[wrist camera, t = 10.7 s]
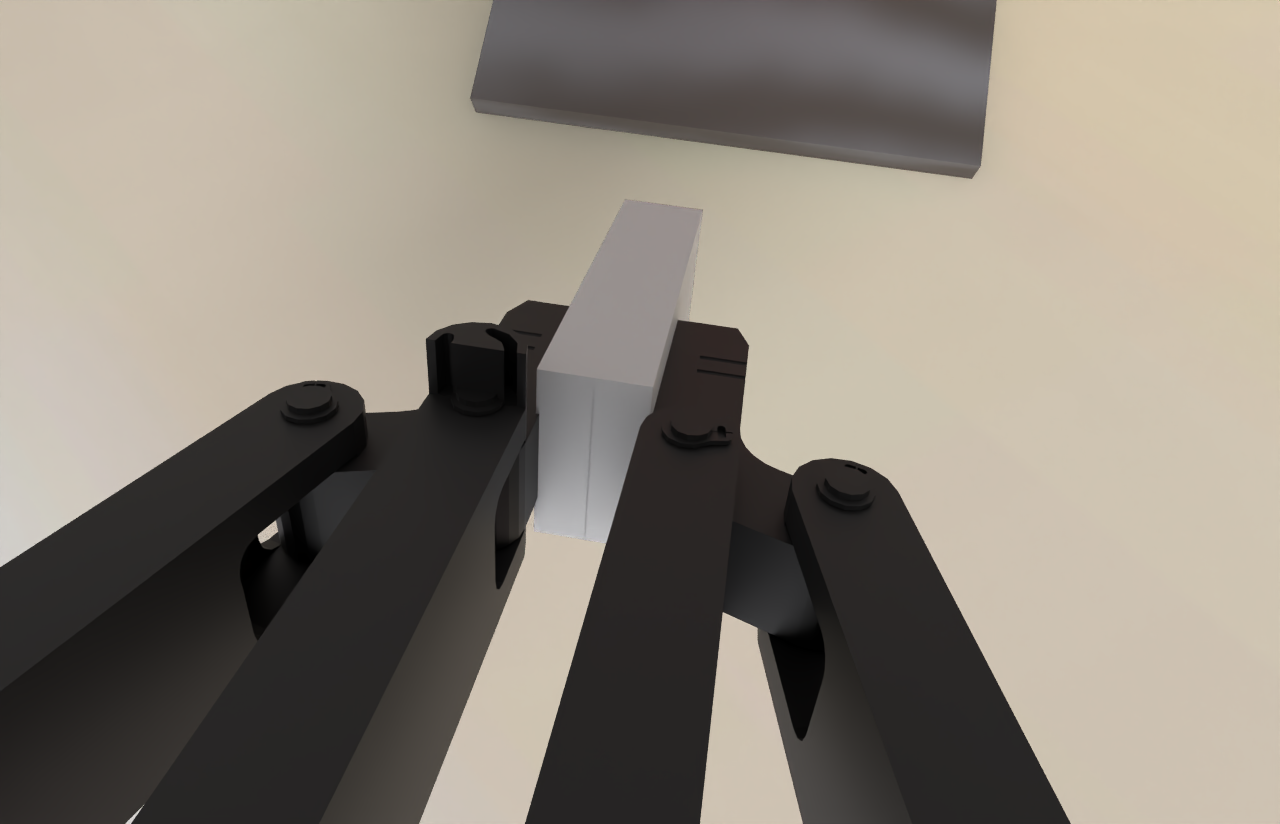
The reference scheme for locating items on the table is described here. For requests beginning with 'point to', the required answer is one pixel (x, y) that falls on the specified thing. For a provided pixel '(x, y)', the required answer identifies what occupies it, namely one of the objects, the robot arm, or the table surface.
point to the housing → (753, 74)
